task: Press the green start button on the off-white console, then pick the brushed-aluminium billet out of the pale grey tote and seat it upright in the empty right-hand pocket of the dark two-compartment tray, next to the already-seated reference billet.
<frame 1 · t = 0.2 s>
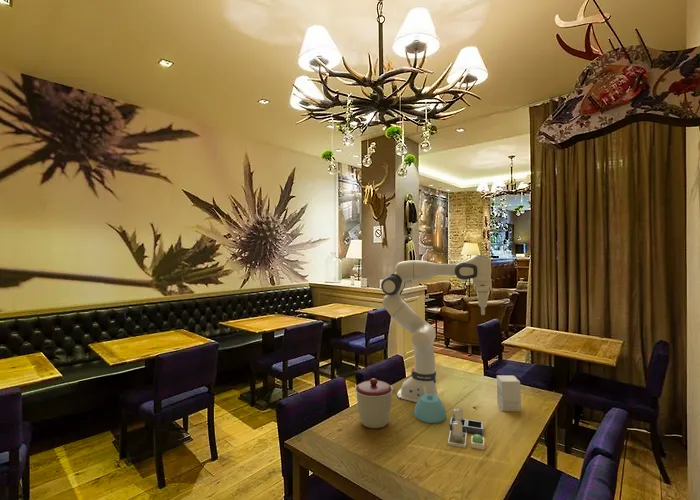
hand: (483, 313, 183), 48 cm above the table, fingers open, 8 cm apart
reference billet: (458, 427, 159), point 1 cm above the table, touching dark two-compartment tray
tote: (457, 442, 149), on the table
dark two-compartment tray: (466, 431, 158), on the table
canister: (374, 423, 167), on the table
sugar bowl: (430, 418, 170), on the table
billet: (457, 441, 149), resting on tote
console: (477, 447, 145), on the table
supplement box: (508, 407, 180), on the table
start button: (477, 439, 145), point 3 cm above the table, slide at 0.0 cm
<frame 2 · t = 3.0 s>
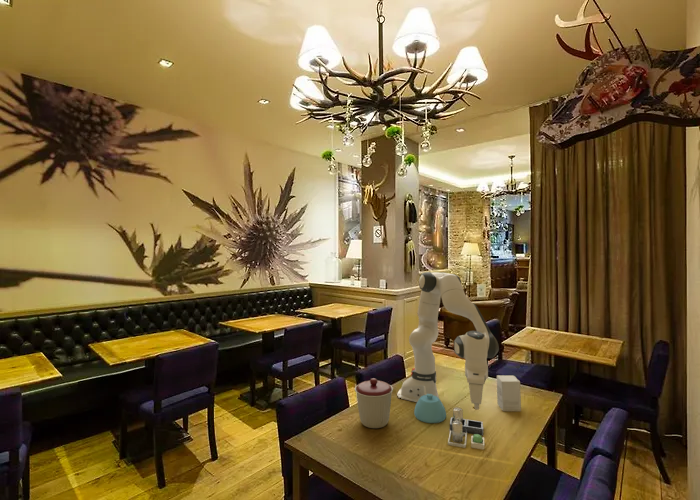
hand: (477, 405, 145), 17 cm above the table, fingers open, 4 cm apart
nothing on the table moved.
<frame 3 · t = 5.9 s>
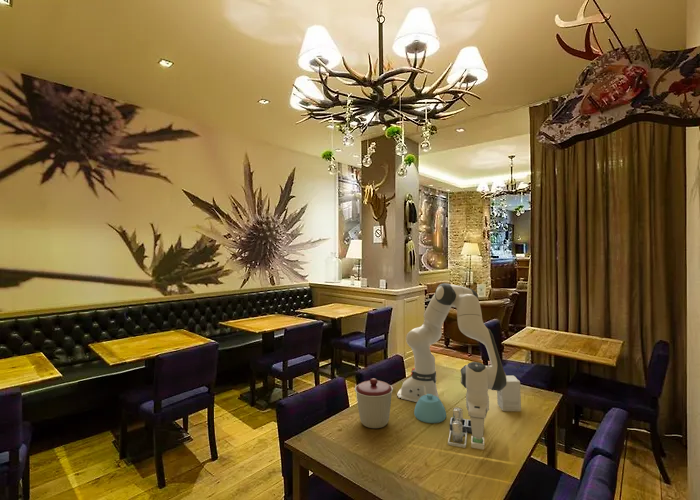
hand: (478, 437, 145), 4 cm above the table, fingers closed, pressing on start button
start button: (477, 440, 145), point 3 cm above the table, slide at -0.6 cm, touching gripper
everything else where it was.
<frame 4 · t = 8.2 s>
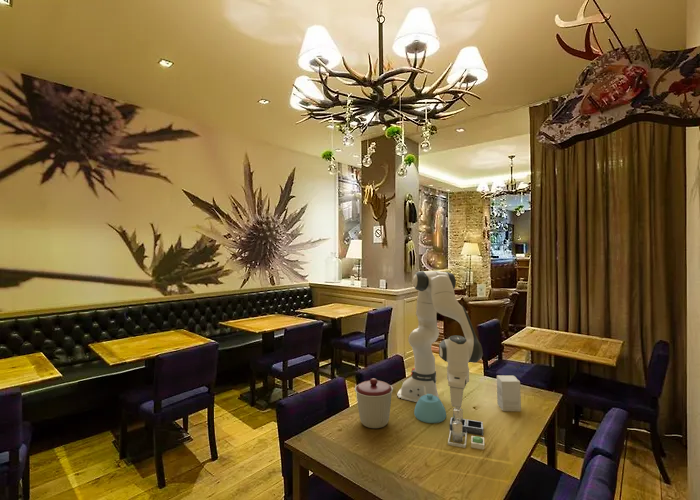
hand: (458, 408, 148), 14 cm above the table, fingers closed
start button: (477, 441, 145), point 2 cm above the table, slide at -0.9 cm
everything else where it was.
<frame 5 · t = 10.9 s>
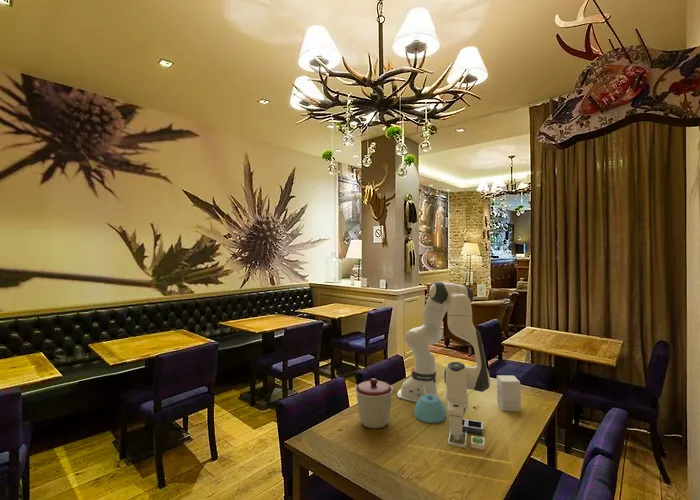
hand: (457, 435, 149), 3 cm above the table, fingers closed on billet, 4 cm apart
billet: (457, 441, 149), resting on tote, touching gripper
everything else where it was.
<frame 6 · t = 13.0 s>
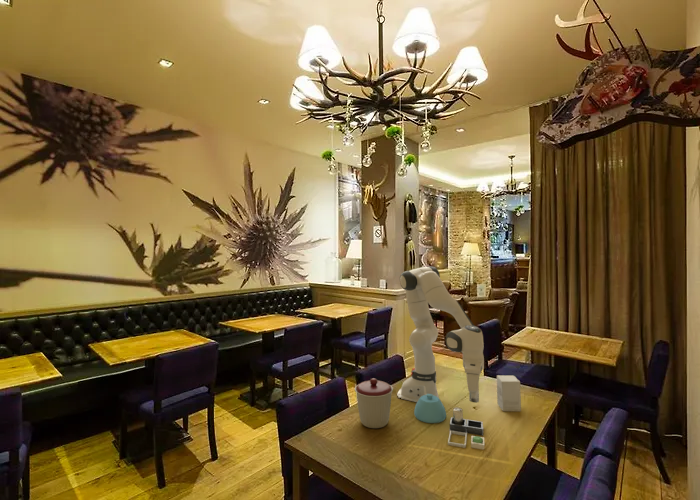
hand: (473, 394, 156), 17 cm above the table, fingers closed on billet, 4 cm apart
billet: (474, 400, 156), point 14 cm above the table, touching gripper
everything else where it was.
when the fingers open (5 cm above the table, at t = 15.5 s): billet stays where it is, resting on dark two-compartment tray.
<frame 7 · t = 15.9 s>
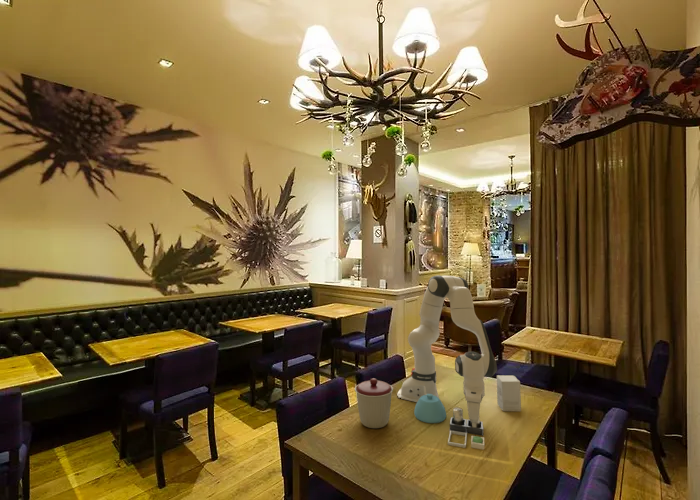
hand: (474, 421, 157), 5 cm above the table, fingers open, 8 cm apart
billet: (474, 429, 157), point 1 cm above the table, touching dark two-compartment tray
everything else where it was.
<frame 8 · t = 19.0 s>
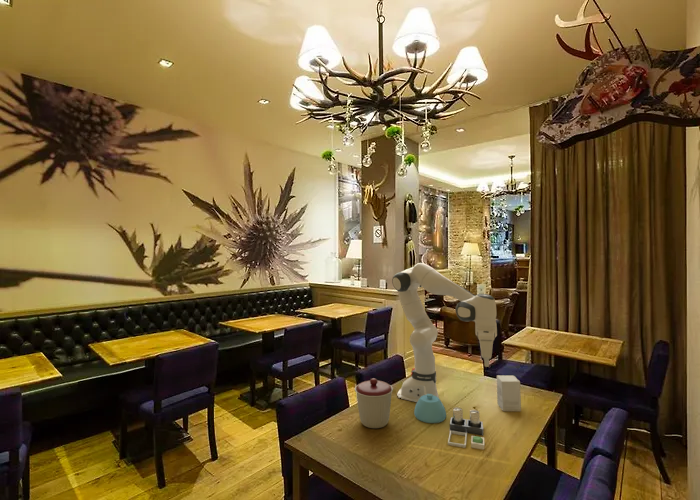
hand: (486, 362, 155), 31 cm above the table, fingers open, 8 cm apart
nothing on the table moved.
at the end: billet 0.1 cm from the target spot on the dark two-compartment tray, point 1.2 cm above the dark two-compartment tray's base; billet tilted 0°; start button slide at -0.9 cm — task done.
